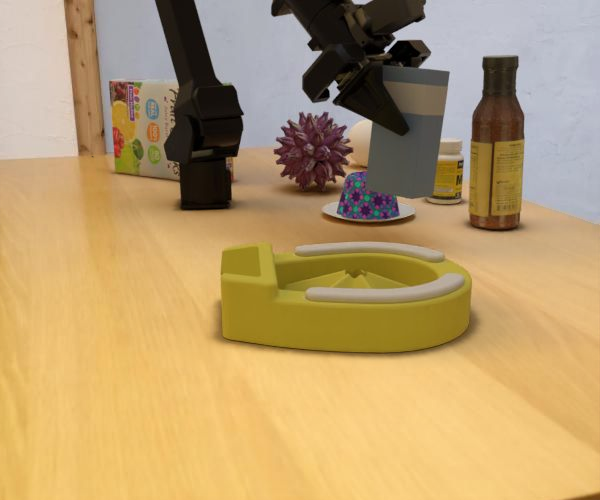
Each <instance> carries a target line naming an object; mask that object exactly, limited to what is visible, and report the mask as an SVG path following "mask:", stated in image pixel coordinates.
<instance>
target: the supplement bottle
mask: <svg viewBox="0 0 600 500" xmlns="http://www.w3.org/2000/svg"><path fill="white" fill-rule="evenodd" d="M462 151H463V139H461V138H454V137H441V140H440V147H439V155H438V162H437V169H436V177H435V184H434V191H433V196H431V197H426V200H427V201H428V202H429V203H433V204H437V205H453V204H458V203H460V202H461V201H462V194H463V181H464V179H463V178H464V165H465V156H464V155H463V153H461V152H462Z"/></svg>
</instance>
